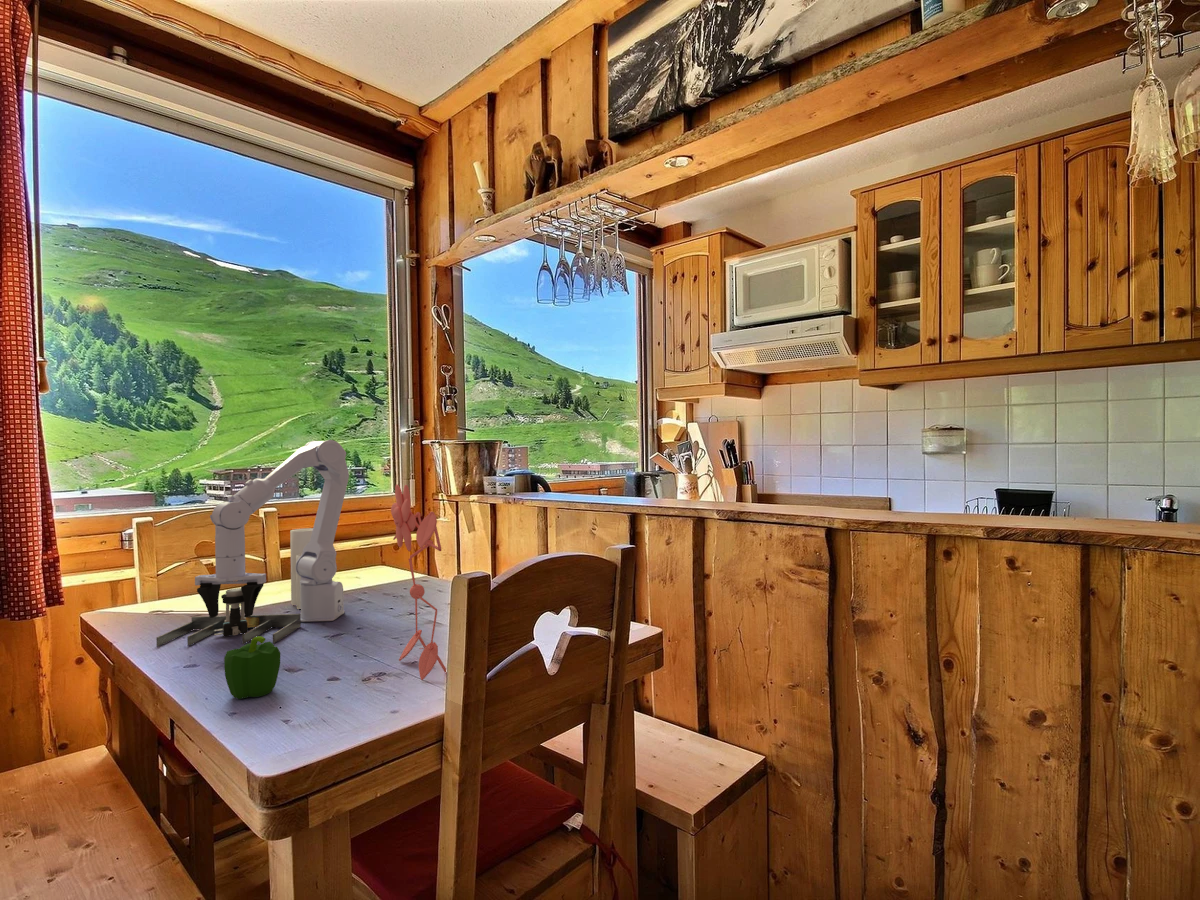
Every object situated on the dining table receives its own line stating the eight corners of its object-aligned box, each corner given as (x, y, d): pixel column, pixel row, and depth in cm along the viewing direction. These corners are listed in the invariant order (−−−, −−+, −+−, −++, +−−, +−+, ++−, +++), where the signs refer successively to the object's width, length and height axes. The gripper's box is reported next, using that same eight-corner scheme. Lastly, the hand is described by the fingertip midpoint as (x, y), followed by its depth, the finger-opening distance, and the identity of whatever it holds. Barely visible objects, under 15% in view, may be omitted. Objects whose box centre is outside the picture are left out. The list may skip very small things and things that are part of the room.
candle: (288, 602, 166) (287, 529, 166) (316, 598, 171) (315, 527, 171) (299, 610, 158) (298, 533, 158) (328, 605, 162) (327, 531, 162)
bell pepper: (218, 694, 103) (218, 635, 103) (271, 681, 109) (270, 625, 109) (232, 708, 97) (231, 646, 97) (287, 694, 103) (286, 635, 103)
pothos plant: (424, 646, 127) (418, 479, 127) (466, 685, 106) (459, 485, 105) (346, 662, 119) (339, 484, 119) (374, 709, 97) (366, 491, 97)
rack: (300, 626, 143) (300, 613, 143) (274, 643, 131) (274, 629, 131) (193, 629, 142) (193, 616, 142) (156, 646, 130) (156, 632, 130)
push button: (214, 640, 134) (214, 595, 134) (213, 634, 138) (213, 590, 138) (249, 635, 137) (249, 590, 137) (247, 629, 142) (247, 586, 142)
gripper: (185, 559, 132) (186, 622, 132) (254, 558, 133) (255, 620, 133) (205, 554, 139) (206, 613, 139) (270, 552, 140) (271, 611, 140)
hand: (231, 616), depth 136 cm, fingers open, 7 cm apart
